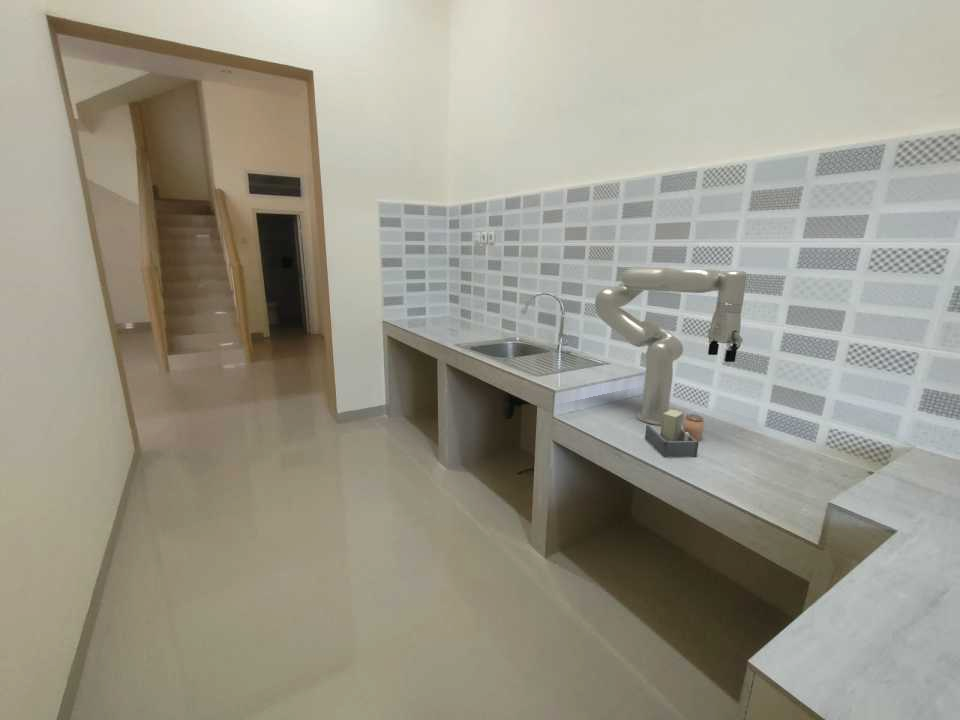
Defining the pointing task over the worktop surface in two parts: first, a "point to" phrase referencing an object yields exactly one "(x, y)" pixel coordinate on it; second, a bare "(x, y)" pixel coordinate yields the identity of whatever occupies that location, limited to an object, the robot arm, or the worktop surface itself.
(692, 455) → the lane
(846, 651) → the worktop surface
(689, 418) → the jar
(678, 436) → the skincare box
